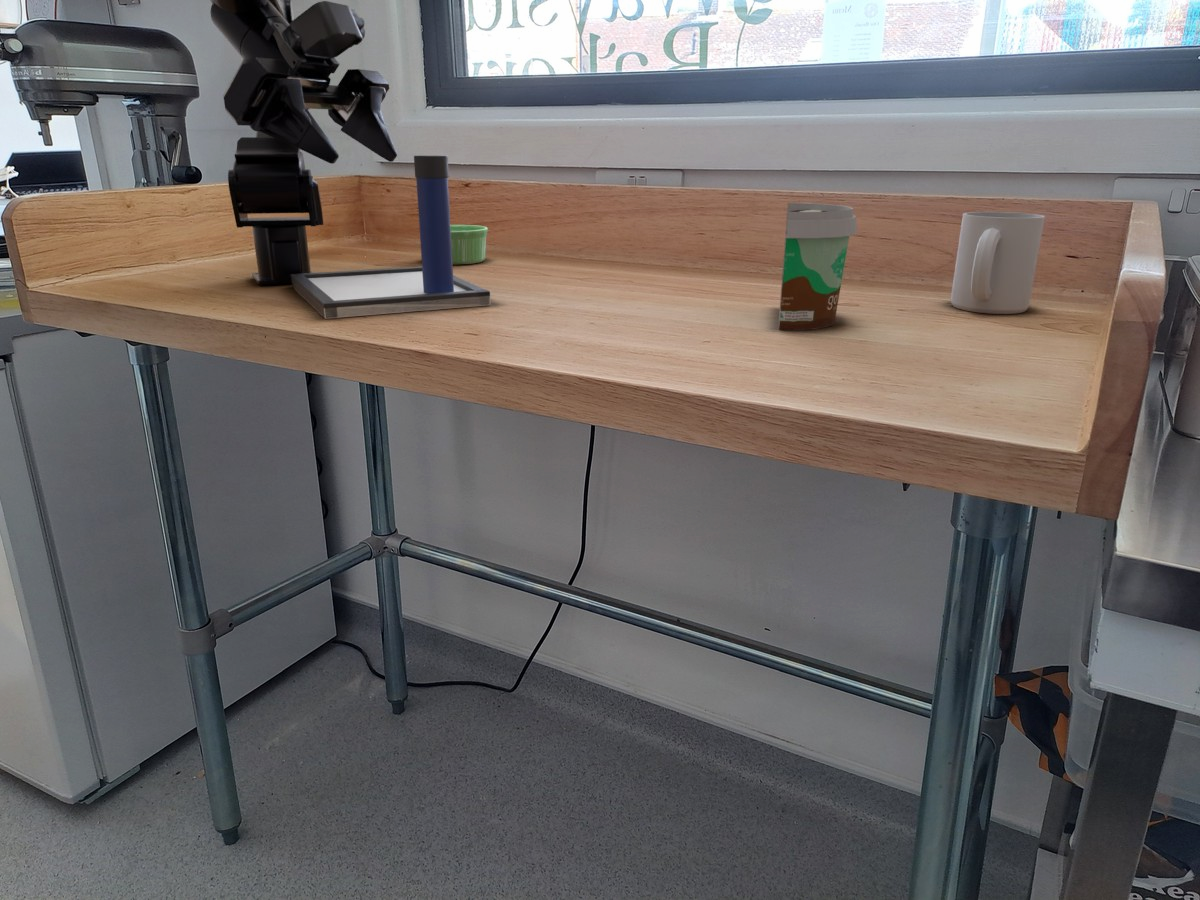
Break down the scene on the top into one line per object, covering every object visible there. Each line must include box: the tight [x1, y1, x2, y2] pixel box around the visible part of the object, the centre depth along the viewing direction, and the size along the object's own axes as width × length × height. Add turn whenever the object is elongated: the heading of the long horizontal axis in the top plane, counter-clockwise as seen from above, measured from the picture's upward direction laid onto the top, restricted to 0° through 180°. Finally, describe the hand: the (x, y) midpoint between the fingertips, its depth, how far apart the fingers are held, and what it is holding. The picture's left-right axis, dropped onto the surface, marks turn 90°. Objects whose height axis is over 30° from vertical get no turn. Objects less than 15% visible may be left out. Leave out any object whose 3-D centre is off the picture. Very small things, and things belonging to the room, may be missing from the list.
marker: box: [413, 154, 454, 294], centre depth 84 cm, size 3×3×13 cm
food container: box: [778, 202, 858, 331], centre depth 77 cm, size 12×6×10 cm, turn 168°
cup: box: [950, 211, 1046, 315], centre depth 82 cm, size 7×10×9 cm
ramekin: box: [450, 224, 489, 266], centre depth 115 cm, size 9×9×4 cm
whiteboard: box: [291, 265, 492, 320], centre depth 90 cm, size 20×16×1 cm
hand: (366, 159), depth 85 cm, fingers open, 9 cm apart
